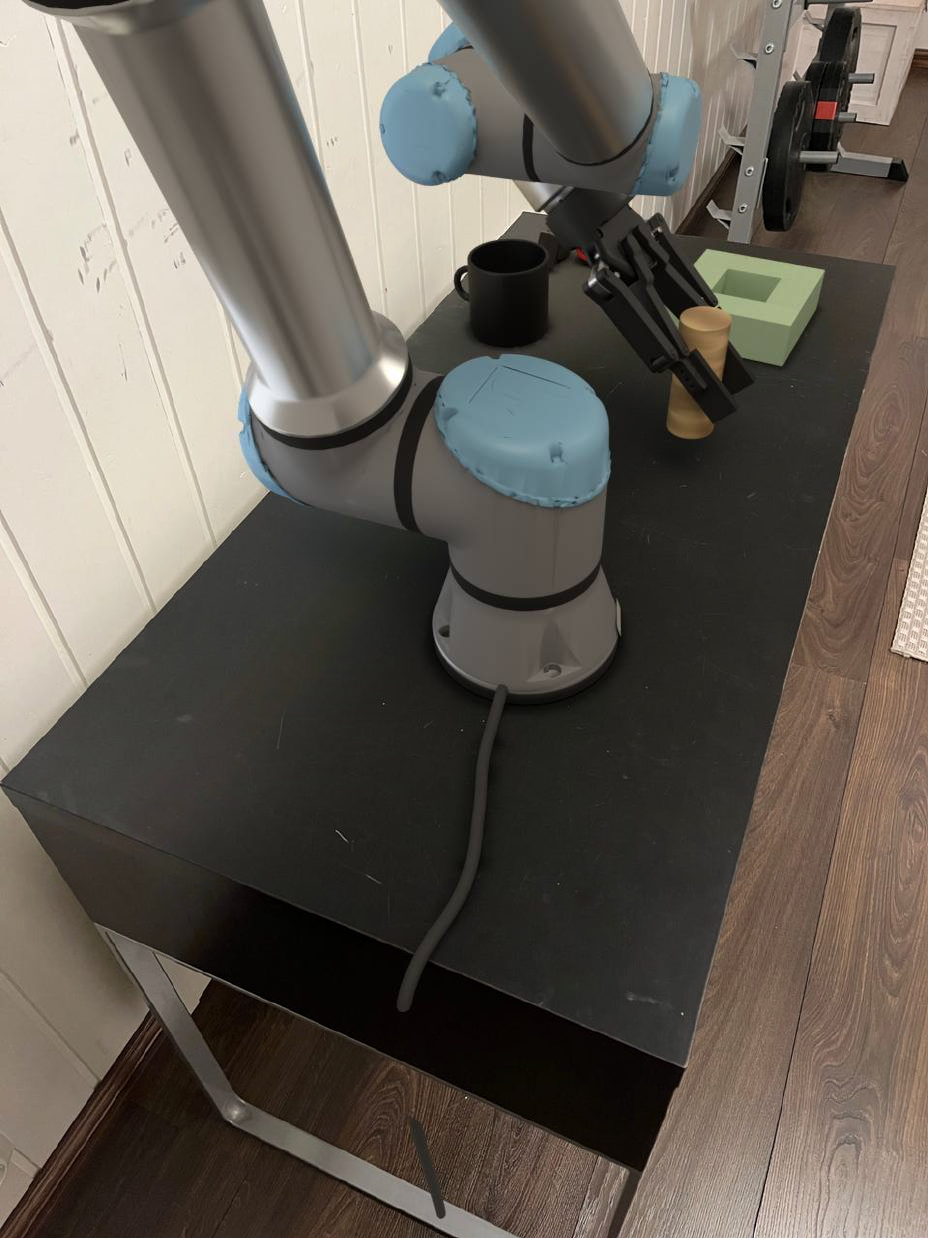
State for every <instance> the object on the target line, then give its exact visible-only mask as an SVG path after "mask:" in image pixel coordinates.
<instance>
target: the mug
mask: <svg viewBox="0 0 928 1238" xmlns="http://www.w3.org/2000/svg"><path fill="white" fill-rule="evenodd" d="M466 262H467V264H465V265H462V266H460V267H458V268H457V269H456V271H455V273H454V274H453V286H454V289H455V291H456V293H457V294H458V296H459V297H460V298H461V299H463V301H465V302H468V303H469V324H470V325H469V326H470V330H471V333H472V334H473V337H475V338H476V339H478V340H479V341H481V342H483V343H485V344H488V345H491V346H495V347H518V346H524V345H528V344H530V343H533V342H535V341H537V340H539V339H540V338H542V337H543V335H545V333H546V331H547V329H548V328H549V298H550V297H549V293H550V292H549V291H550V288H549V287H550V269H549V254H548V251H547V250H546V248H544V247H543V246H542V245H540V244H538V242H535V241H532V240H530V239H529V240H528V239H523V238H500V239H493V240H489V241H486V242H483V243H481V244H478V245H477V246H475V247H474V248H471V250H470V251H469V253H468V255H467V257H466ZM464 274H467V282H468V283H467V285H468V292H467V291H466V290H465V289H464V287H463V284H462V277H463V275H464Z"/></svg>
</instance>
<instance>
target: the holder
mask: <svg viewBox="0 0 928 1238" xmlns="http://www.w3.org/2000/svg"><path fill="white" fill-rule="evenodd" d="M693 265H694V266H695V268H696V269H697V271H698V272H699V273H700V275H701V276H702V278H703V279H704V280H705V282H706V283H707V285H708V286H709V287H710V289H711V290H712V292H713V293H714V294H715V296H716V297H717V299H718V305H717V306H716V307H715V308H717V307H718V306H720V307H721V308H722V310H723V311H725V312H727V313H728V314H729V315H730V316H731V319H732V323H731V328H730V334H729V341H730V342H731V344H732V345H733V346H734V348H735V349H736V350H737V352H738V353H739V354H740V356H741V357H742V359H746V360H750V361H756V362H759V363H760V362H761V363H764V364H769V365H773V366H777V367H783V365H784V364H785V362H786V361H787V359H788V357H789V356H790V354H791V352H792V351H793V349H794V347H795V346H796V344H797V342H798V341H799V339H800V337H801V335H802V334H803V332H804V330H805V328H806V327H807V325H808V324H809V322H810V320H811V318H812V317H813V315H814V314H815V312H816V310H817V307H818V303H819V298H820V295H821V289H822V285H823V281H824V278H825V274H826V273H825V272H826V270H825V269H821V268H816V267H810V266H806V265H798V264H793V263H788V262H783V261H777V260H771V259H765V258H759V257H754V256H748V255H743V254H738V253H731V252H726V251H721V250H715V249H710V248H706V249H705V250H704V252H703V253H702V254H701V255H700V256H699V258H698V259H697V260H696V261H695V262H694V263H693ZM702 299H703V298H702ZM664 306H665V305H664ZM665 308H666V309H667V311H668V313H669V315H670V316H671V318H672V320H673V322H674V323H675V325H676V327H677V329H678V328H679V320H678V319H677V318H676V317H675V316H674V315H673V313H672V312H671V311H670V310H669V309H668V308H667V307H666V306H665Z"/></svg>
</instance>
